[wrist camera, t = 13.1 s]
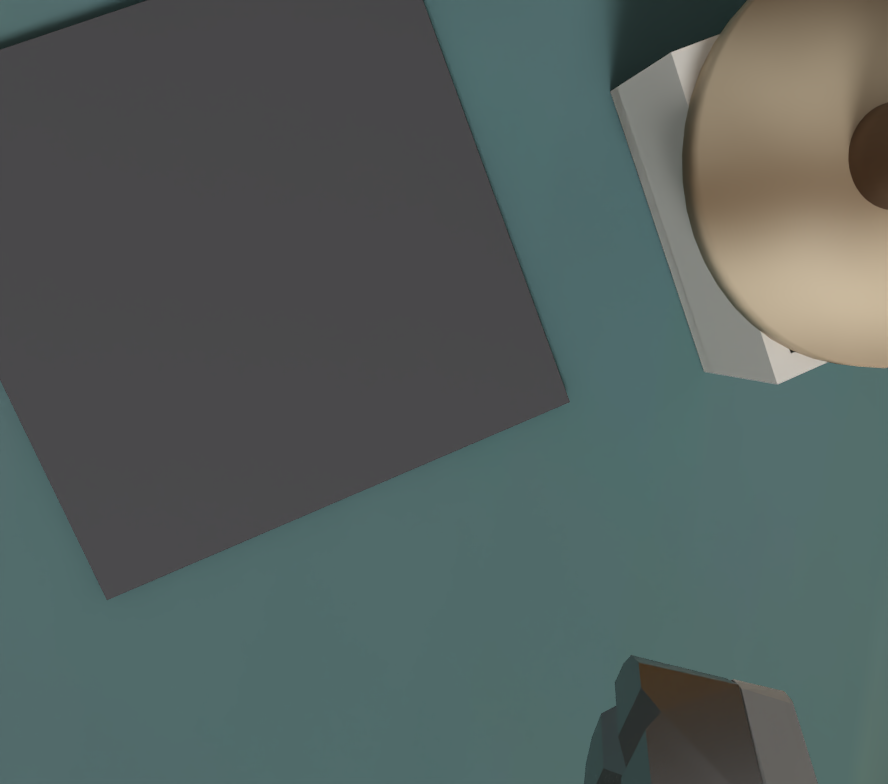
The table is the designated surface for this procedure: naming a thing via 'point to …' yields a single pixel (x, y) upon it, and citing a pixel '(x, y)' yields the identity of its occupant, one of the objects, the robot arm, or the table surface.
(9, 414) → the table surface
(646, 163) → the white hollow square box
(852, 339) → the lid
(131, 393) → the mat
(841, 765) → the table surface
